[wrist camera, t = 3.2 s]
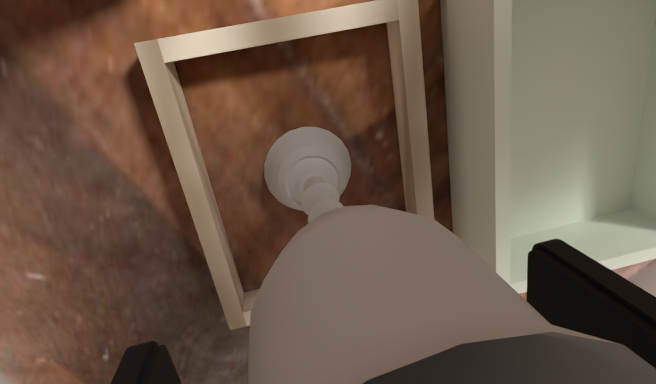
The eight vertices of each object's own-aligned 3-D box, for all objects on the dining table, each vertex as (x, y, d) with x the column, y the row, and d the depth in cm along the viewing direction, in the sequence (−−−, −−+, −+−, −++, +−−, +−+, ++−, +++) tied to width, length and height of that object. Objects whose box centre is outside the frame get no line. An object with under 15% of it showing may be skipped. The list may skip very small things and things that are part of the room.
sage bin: (663, -48, 21) (775, -75, 17) (628, 212, 27) (704, 246, 22) (439, -9, 20) (493, -26, 15) (454, 254, 26) (496, 299, 21)
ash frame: (402, -2, 20) (417, -7, 18) (425, 261, 26) (438, 278, 24) (146, 43, 19) (133, 43, 17) (232, 309, 24) (229, 330, 23)
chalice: (303, 247, 24) (403, 707, 7) (219, 174, 21) (72, 613, 5) (391, 166, 23) (740, 477, 6) (314, 80, 20) (548, 214, 4)
